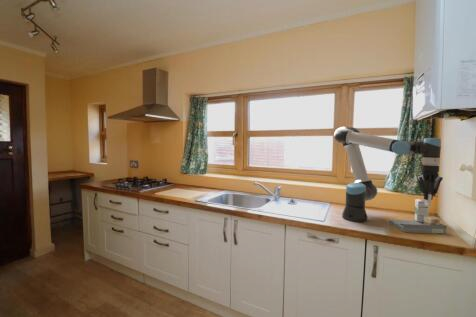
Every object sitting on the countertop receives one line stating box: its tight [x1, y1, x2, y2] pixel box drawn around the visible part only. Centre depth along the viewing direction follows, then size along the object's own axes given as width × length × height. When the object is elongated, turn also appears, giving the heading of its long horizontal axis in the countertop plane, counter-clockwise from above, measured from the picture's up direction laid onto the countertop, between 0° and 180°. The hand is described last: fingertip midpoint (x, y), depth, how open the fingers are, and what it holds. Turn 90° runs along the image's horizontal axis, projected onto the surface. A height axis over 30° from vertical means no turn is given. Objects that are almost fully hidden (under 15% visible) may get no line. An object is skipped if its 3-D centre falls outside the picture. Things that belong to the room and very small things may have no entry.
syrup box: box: [413, 198, 430, 221], centre depth 144 cm, size 6×6×14 cm
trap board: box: [388, 219, 447, 234], centre depth 134 cm, size 23×14×4 cm, turn 86°
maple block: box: [424, 215, 441, 225], centre depth 130 cm, size 5×5×5 cm
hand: (427, 205), depth 129 cm, fingers closed
